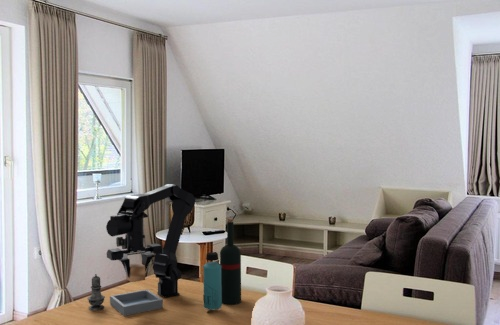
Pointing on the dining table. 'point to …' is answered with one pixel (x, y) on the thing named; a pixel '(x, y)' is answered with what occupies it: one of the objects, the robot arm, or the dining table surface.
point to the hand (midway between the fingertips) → (135, 275)
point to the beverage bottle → (212, 282)
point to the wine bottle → (230, 269)
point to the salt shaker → (96, 295)
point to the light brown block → (136, 272)
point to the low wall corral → (136, 302)
